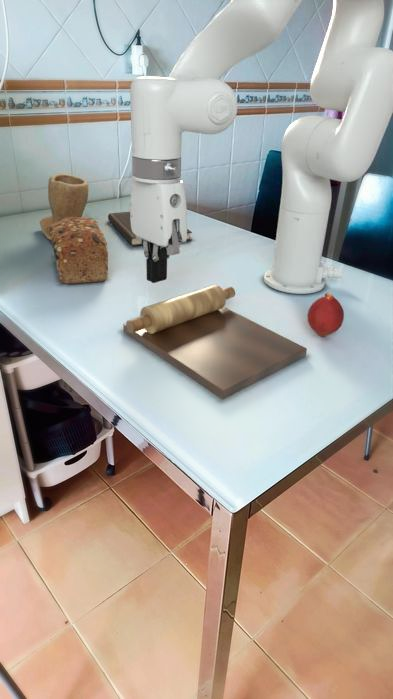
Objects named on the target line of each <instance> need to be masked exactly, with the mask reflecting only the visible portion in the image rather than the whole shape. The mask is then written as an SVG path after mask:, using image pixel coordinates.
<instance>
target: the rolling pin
mask: <svg viewBox="0 0 393 699" xmlns="http://www.w3.org/2000/svg"><path fill="white" fill-rule="evenodd" d="M235 296H236V291H235V288H234V287H233V286H227V287H225V288H222V287H221V286H220V285H218V284H212V285H209V286H205V287H203V288H199V289H196V290H193V291H190V292H187V293H184V294H181V295H178V296H174V297H171V298H168V299H164V300H162V301H158V302H155V303H153V304H150V305H149V304H148V305H147V306H146V305H145V306H143V307H142V308H141V309H140V313H139V316H137V317H135V318H134V317H133V318H131V319H129V320H127V321H125V324H126V327H127V329H128V331H129V332H130V333H133V332H136V331H139V330H142V329H145V330H146V331H147V332H148V333H150V334H153V333H156V332H159V331H161V330H164V329H167V328H170V327H172V326H175V325H178V324H181V323H183V322H186V321H189V320H192V319H194V318H197V317H200V316H202V315H205V314H208V313H211V312H213V311H216V310H219V309H222V308H223V307H225V305H226V301H227V300H229V299H232V298H234V297H235Z"/></svg>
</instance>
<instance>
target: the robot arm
mask: <svg viewBox="0 0 393 699" xmlns="http://www.w3.org/2000/svg"><path fill="white" fill-rule="evenodd" d="M302 1H303V0H230V2H228V3H227V5H226V6H224V8H222V9H221V10H219V12H218V13H217V14H216V15H215V16H214V18H212V20H210V22H209V23H208V24H207V25H205V27H204V28H203V29H202V30H201V31H200V32H199V33H198V34H197V35H196V36H195V37H194V38H193V39H192V41H191V42H190V43H189V44H188V45H187V46H186V48H185V50H183V52H182V54H181V56H179V59H178V60H177V61H176V63H175V65H174V66H173V68H172V70H171V72H170V73H169V75H168V77H161V76H138V77H135V78H134V79H133V80H132V81H131V84H130V88H129V89H130V92H129V99H130V129H131V130H130V133H131V136H130V137H131V138H130V139H131V173H132V174H131V175H132V177H131V180H132V181H131V187H130V201H129V202H130V204H129V208H130V209H129V212H130V220H131V229H132V232H133V233H134V234H135V235H136V239H137V240H138V241H139V242H141V243H142V247H143V254H144V255H143V256H144V257H145V258H146V259H145V261H146V264H145V265H146V268H145V269H146V281H147V282H151V283H152V284H155V283H159V282H162V281H166V280H167V278H168V259H170V256H175V255H179V254H180V252H181V250H180V244H184V243H186V242H187V241H186V240H187V229H188V209H187V207H188V206H187V196H186V190H185V185H184V181H183V180H182V179H181V178H182V139H183V138H182V135H183V133H184V132H187V133H196V134H201V135H216V134H220V133H222V132H224V131H226V130H227V129H228V128H229V127H230V126H232V124H233V123H234V121H235V119H236V117H237V113H238V108H239V107H238V106H239V104H238V98H237V96H236V93H235V91H234V90H233V88H232V87H231V86H230V85H229V84H228V83H227V82H225V81H224V80H221V79H222V77H223V76H224V75H225V74H226V73H227V72H228V71H230V70H231V69H232V68H233V67H234V66H236V65H238V64H239V63H241V62H242V61H244V60H247V59H248V58H250V57H253V56H254V55H256V54H258V53H260V52H262V51H263V50H265V49H267V48H268V47H269V46H271V45H272V44H273V43H275V42H276V41H277V40H278V39H279V38H280V36H281V34H283V32H284V30H285V28H286V26H288V24H289V22H290V21H291V18H292V17H293V15H294V14H295V12H296V11H297V9H298V8H299V6H300V5H301V3H302ZM384 20H385V3H384V0H332V12H331V18H330V21H329V25H328V28H327V32H326V34H325V37H324V40H323V44H322V46H321V49H320V52H319V54H318V58H317V60H316V64H315V67H314V69H313V73H312V76H311V80H310V86H309V95H310V98H311V100H312V102H313V103H314V104H315V105H316V106H317V107H319V108H322V109H324V110H329V111H335V112H343V117H342V119H340V118H335V117H327V116H322V115H305V116H302V117H299V118H297V119H295V120H294V121H293V122H292V123H290V125H289V126H288V127H287V129H286V130H285V132H284V135H283V137H282V143H281V166H282V167H281V168H282V182H281V183H282V184H281V194H280V195H281V196H280V204H279V211H278V219H277V228H276V235H275V236H276V237H275V244H274V252H273V260H272V261H273V262H272V268H270V269H268V270H266V271H265V272H264V275H263V281H264V284H266V285H267V286H268V287H270V288H271V289H273V290H276V291H279V292H283V293H287V294H295V295H307V294H313V293H318V292H320V291H321V290H322V289H323V288H325V284H326V280H327V278H332V279H342V278H343V275H344V271H343V268H335V267H334V265H329V264H327V265H324V264H323V263H322V257H323V250H324V246H325V245H324V244H325V239H326V233H327V228H328V222H329V216H330V211H331V205H332V186H331V180H332V181H337V182H341V183H351V182H355V181H358V180H359V179H360V178H361V177H363V175H365V173H366V172H368V170H369V168H370V167H371V165H372V164H373V162H374V159H375V157H376V155H377V152H378V150H379V148H380V145H381V143H382V140H383V138H384V135H385V133H386V130H387V128H388V126H389V123H390V120H391V118H392V116H393V50H391V49H389V48H387V47H382V46H377V43H378V40H379V37H380V34H381V31H382V28H383V24H384Z"/></svg>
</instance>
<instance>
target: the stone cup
mask: <svg viewBox="0 0 393 699" xmlns="http://www.w3.org/2000/svg"><path fill="white" fill-rule="evenodd" d="M47 183H48V184H47V197H48V204H49V207H50V210H51V215H50V216H46V217H44V218H42V219H40V221H39V225H40V229H41V230H42V233H43V235H44V236H45V237H46V238H47V239H48V240H50V241H52V239H51V234H50V227H51V225H52V224H55V223H56V222H58V221H59V220H60V219H62V218H67V217H83V216H84V211H85V209H86V206H87V203H88V199H89V184H88V181H87V180H86V179H84V178H82V177H79V176H75V175H72V174H66V173H55V174H52V175H51V176H49V179H48V181H47Z"/></svg>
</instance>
